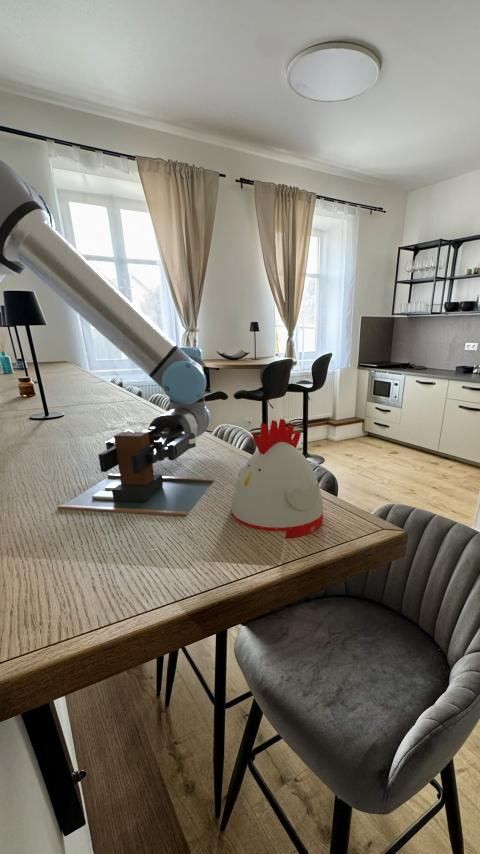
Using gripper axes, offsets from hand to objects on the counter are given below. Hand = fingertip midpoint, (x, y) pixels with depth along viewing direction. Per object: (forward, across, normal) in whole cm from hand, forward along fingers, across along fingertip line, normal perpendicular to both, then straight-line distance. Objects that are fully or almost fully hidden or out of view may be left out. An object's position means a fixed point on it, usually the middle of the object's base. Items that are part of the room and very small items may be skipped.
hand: (118, 463), depth 61 cm
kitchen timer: (-1, -24, -8) cm, 25 cm away
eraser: (-5, 0, -7) cm, 8 cm away
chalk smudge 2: (-7, +4, -7) cm, 11 cm away
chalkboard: (-5, -1, -8) cm, 10 cm away
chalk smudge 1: (-3, +4, -7) cm, 9 cm away
